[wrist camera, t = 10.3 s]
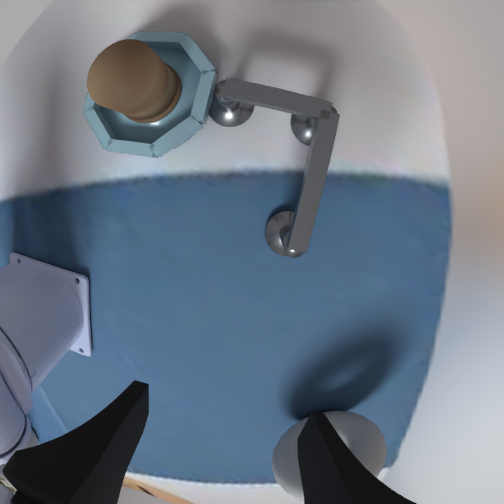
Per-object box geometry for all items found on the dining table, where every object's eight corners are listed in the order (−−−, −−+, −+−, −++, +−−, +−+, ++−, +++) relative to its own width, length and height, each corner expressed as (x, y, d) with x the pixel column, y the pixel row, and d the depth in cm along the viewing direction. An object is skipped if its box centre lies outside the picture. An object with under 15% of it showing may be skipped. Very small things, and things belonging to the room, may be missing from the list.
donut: (369, 391, 24) (404, 472, 14) (368, 412, 25) (398, 488, 15) (265, 416, 24) (269, 505, 15) (273, 436, 25) (278, 518, 16)
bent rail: (181, 231, 20) (162, 249, 15) (213, 81, 17) (202, 57, 12) (302, 258, 20) (315, 282, 16) (339, 110, 17) (362, 95, 13)
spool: (113, 120, 17) (75, 109, 12) (131, 61, 16) (98, 37, 11) (171, 127, 17) (145, 115, 12) (189, 66, 16) (170, 37, 11)
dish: (88, 148, 18) (75, 147, 16) (116, 41, 16) (106, 33, 14) (198, 164, 18) (192, 163, 17) (227, 46, 16) (225, 36, 14)
